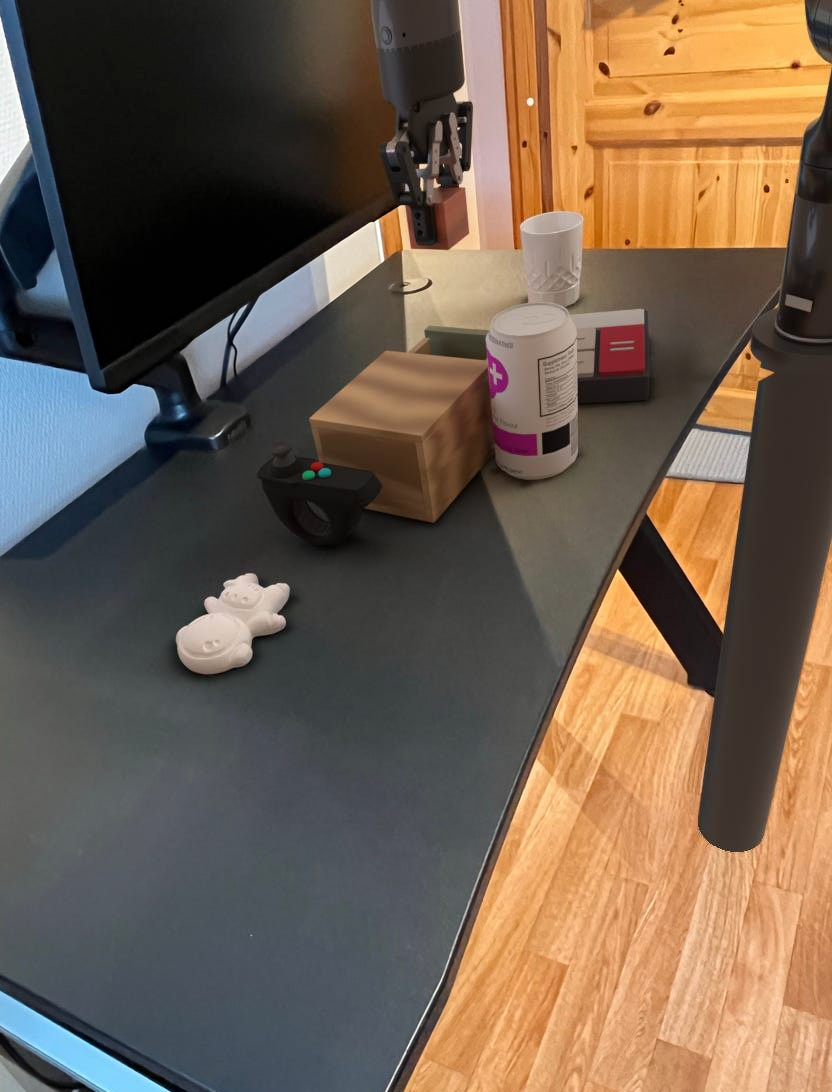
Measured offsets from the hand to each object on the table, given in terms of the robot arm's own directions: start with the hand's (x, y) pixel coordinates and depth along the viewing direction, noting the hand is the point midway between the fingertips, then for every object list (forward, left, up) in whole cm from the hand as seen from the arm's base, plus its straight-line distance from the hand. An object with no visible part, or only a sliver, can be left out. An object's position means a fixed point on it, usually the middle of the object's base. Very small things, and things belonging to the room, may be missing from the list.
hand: (439, 233), depth 88 cm
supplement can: (-13, +8, -19) cm, 25 cm away
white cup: (+1, -29, -19) cm, 35 cm away
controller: (0, +27, -19) cm, 33 cm away
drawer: (-2, +3, -18) cm, 19 cm away
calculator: (-12, -11, -19) cm, 25 cm away
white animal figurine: (+1, +41, -19) cm, 45 cm away
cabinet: (-2, +14, -19) cm, 24 cm away
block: (0, 0, -1) cm, 1 cm away
